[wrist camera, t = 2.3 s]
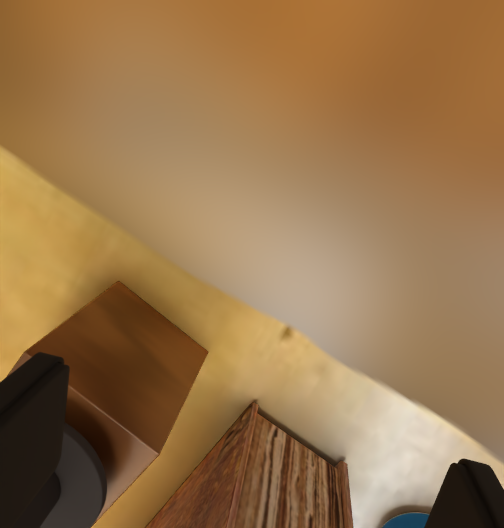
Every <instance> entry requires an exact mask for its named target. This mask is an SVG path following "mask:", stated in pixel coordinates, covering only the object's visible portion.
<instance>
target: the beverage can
mask: <svg viewBox="0 0 504 528" xmlns="http://www.w3.org/2000/svg"><path fill="white" fill-rule="evenodd" d="M429 515H430V514H427V513H420V512H411V513H405V514H401V515H398V516H396V517H394V518H392V519H390V520H389V521H387V522H386V523H385V524H384V525H383V526H382V528H424V527H425V524H426V522H427V520H428V517H429Z"/></svg>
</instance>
